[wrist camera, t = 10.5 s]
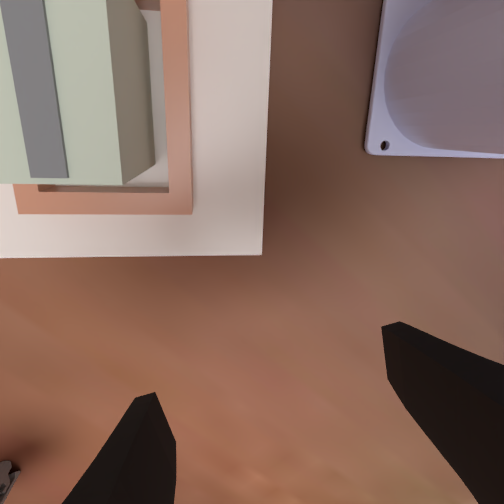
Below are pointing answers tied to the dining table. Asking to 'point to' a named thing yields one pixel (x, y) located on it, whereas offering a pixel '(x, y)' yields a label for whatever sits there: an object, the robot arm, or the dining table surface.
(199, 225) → the duct plate
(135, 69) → the striped green box
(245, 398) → the dining table surface
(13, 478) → the mechanical component
